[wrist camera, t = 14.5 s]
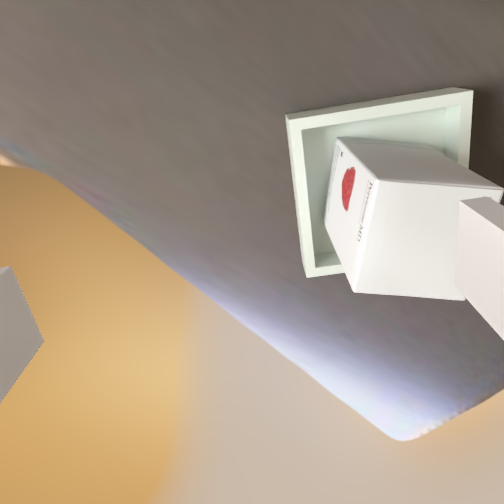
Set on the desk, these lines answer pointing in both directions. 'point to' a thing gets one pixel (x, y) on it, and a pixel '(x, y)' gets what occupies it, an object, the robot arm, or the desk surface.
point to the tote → (367, 127)
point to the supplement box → (398, 216)
